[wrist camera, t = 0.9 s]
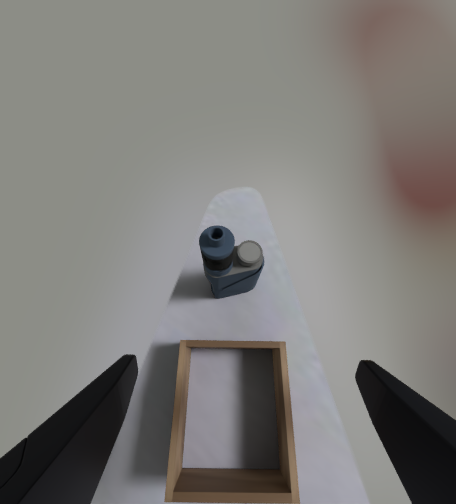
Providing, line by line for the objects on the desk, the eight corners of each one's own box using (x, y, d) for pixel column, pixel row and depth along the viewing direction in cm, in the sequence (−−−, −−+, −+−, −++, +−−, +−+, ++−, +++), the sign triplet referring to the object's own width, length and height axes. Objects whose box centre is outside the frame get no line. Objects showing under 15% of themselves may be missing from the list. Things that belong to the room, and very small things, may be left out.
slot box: (286, 477, 18) (299, 503, 15) (175, 476, 18) (164, 502, 15) (276, 343, 22) (285, 341, 19) (186, 342, 22) (180, 340, 19)
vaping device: (206, 279, 25) (192, 219, 14) (251, 269, 26) (271, 205, 15) (211, 301, 24) (200, 255, 13) (257, 290, 24) (284, 238, 14)
